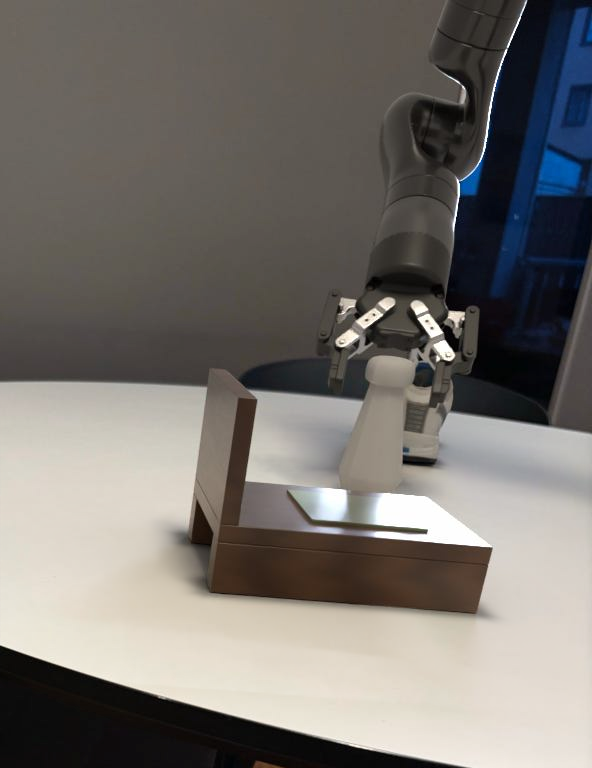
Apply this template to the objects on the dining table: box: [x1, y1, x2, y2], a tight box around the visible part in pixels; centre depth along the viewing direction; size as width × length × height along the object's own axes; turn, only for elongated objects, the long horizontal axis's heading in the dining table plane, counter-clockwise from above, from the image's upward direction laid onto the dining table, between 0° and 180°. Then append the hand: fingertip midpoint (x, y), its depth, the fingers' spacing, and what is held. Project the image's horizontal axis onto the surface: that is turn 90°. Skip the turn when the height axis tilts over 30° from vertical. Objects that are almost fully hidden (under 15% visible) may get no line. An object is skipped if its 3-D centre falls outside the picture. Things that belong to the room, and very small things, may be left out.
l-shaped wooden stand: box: [187, 367, 493, 614], centre depth 70 cm, size 18×13×13 cm
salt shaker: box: [338, 355, 415, 494], centre depth 93 cm, size 6×6×13 cm
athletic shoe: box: [402, 356, 454, 463], centre depth 122 cm, size 10×23×12 cm, turn 174°
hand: (385, 396), depth 91 cm, fingers open, 8 cm apart
